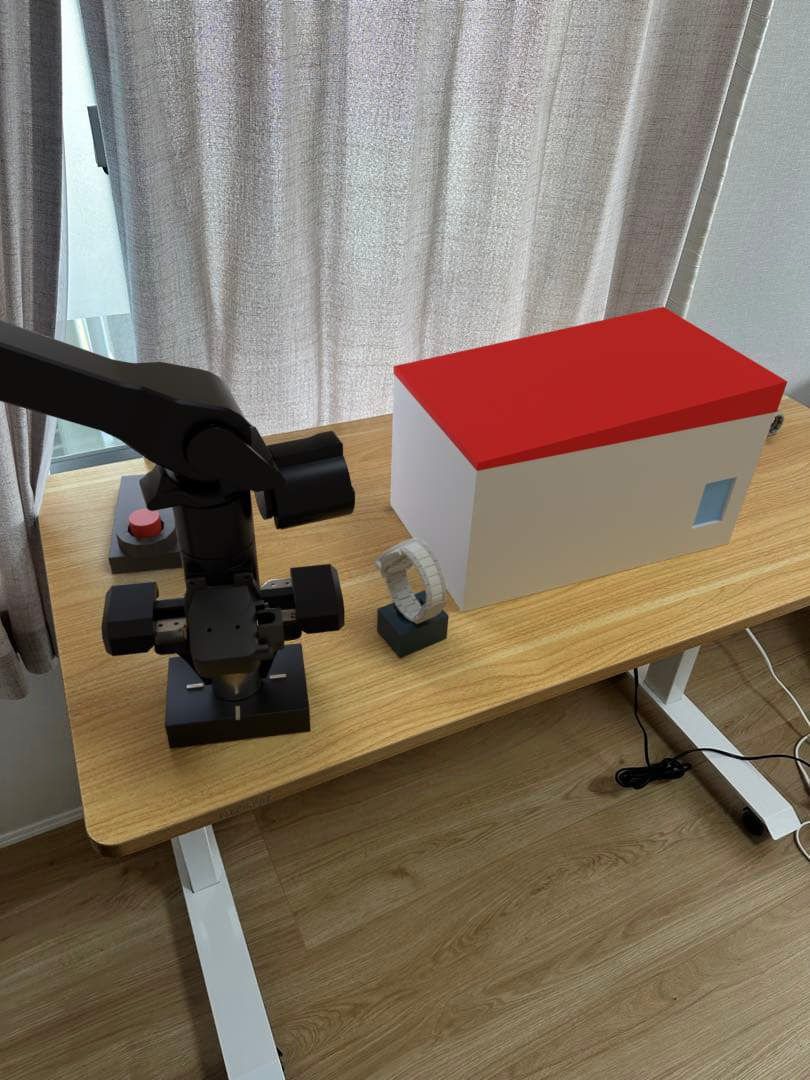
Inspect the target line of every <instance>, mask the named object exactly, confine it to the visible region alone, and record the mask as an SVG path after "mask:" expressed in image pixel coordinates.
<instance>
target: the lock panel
mask: <svg viewBox="0 0 810 1080" xmlns="http://www.w3.org/2000/svg"><path fill="white" fill-rule="evenodd" d="M304 661H305V660H304V652H303V644H302V643H300V642H299V643H290V644H285V648H284V650H278V652H277V654H276V656H275V658H274V661H273V663H272V666H271V668H270V671H269V673H268V676H267V678H263V679H262V684H261V686H260V688H259V689H258V691H257V692H256V693H254V694H253V695H252V696H250V697H248V698H245V699H242V700H237V701H230V700H225V699H222V698H220V697H218V696H217V695H216V694H215V693H214V692H213V690H212V687H211V685H205V683H204V682H203V681H202V680H201V679H200V677H199V676H198V675H197V674H196V673H195V671H194V670H193V669H192V668H191V667H190V665H189V664H188V663H187V662H186V661H185V660H184V659H183V658H181V657H180V656H179V655H177V656H170V657H168V665H167V682H166V699H165V717H164V719H165V720H164V729H165V733H166V738H167V742H168V747H169V749H170V750H173V749H179V748H188V747H195V746H202V745H212V744H217V743H219V744H220V743H226V742H235V741H243V740H251V739H258V738H259V739H260V738H264V737H265V738H266V737H274V736H282V735H289V734H297V733H305V732H311V730H312V729H311V727H312V726H311V712H310V701H309V693H308V686H307V678H306V670H305V662H304Z"/></svg>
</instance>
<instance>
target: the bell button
mask: <svg viewBox="0 0 810 1080" xmlns="http://www.w3.org/2000/svg"><path fill="white" fill-rule="evenodd" d="M128 520H129V525H130V529H131V533H132V535H133V536H134V537H138V538H147V537H152V536H154V535H157V534H159V533H160V532H161V530H162V526H161V520H160V515H159V513H158V512H157V511H150V510H148V509H140V510H137V511H135V512H133V513H132V514H131V515H130V516H129V519H128Z"/></svg>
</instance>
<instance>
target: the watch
mask: <svg viewBox="0 0 810 1080" xmlns="http://www.w3.org/2000/svg"><path fill="white" fill-rule="evenodd" d="M432 565H433V566H432ZM412 566H414V568H415V569H416V572H417V573H418V575H419V577H420V580H421V581H422V582H421V583H422V585H423V586H424V590H421V591H419V592H416V593H414V592H413V589H412V587H411V584H410V581H409V577H408V573H407V570H410V569H411V568H412ZM374 567H375V569H376V570H377V571H379V572H380V576H381V577H382V579H384V581H385V585H386V587H387V590H388V593H389V595H390V597H391V600H392V602H391V603H388V604H386V605H383V606H380V607H378V608H377V610H376V611H377V613H376V615H377V616H376V632H377V633H378V635H379V636H380V637H381V639H383V641H384V642H385V643H386V645H388V647H389V648H390V649H391V650H392V651H393V653H394V654H395V655H396V656H397V658H398V659H402V658H405V657H407V656H410V655H412V654H414V653H416V652H419V651H421V650H423V649H425V648H428V647H430V646H433V645H435V644H438V643H440V642H442V641H444V640H446V639H447V638H448V630H449V629H448V628H449V618H450V617H449V616H450V615H449V614H448V613H447V612H446V611H445V610H444V609H445V607H446V604H447V600H448V599H446V598H447V589H446V585H445V580H444V576H443V572H442V570H440V569H441V566H440V564H439V562H438V560H437V558H436V556H435V555H434V553H433V552H432V550H431V549H430V548H429V547H428V546H427V543H426V542H425V541H422V539H421V538H408V539H405V540H403V541H401V542H399V543H396V544H394V545H393V546H391V547H389V548H388V549H386V550H385V551H384V552H382V553H381V554H380V555H379V556H378V557H377V558H376V560H375V562H374Z"/></svg>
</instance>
